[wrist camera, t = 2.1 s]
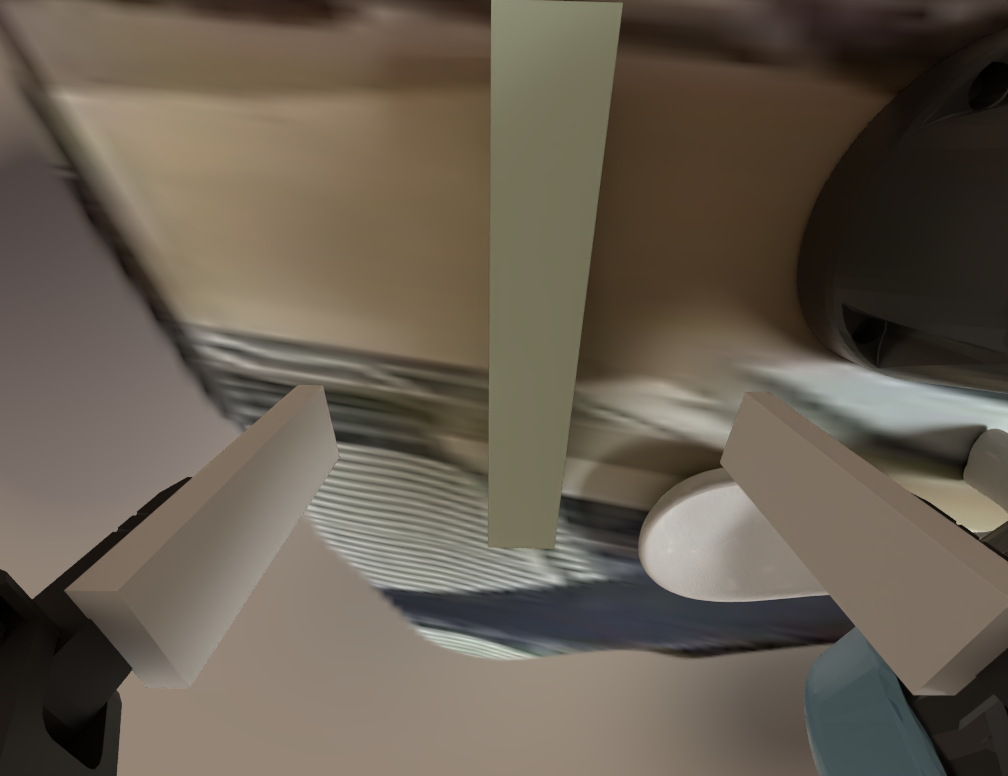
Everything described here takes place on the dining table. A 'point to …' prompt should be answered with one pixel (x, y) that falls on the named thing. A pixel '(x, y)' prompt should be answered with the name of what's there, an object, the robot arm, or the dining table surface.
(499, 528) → the slat
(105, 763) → the robot arm
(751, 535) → the spoon rest
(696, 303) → the dining table surface
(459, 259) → the dining table surface
